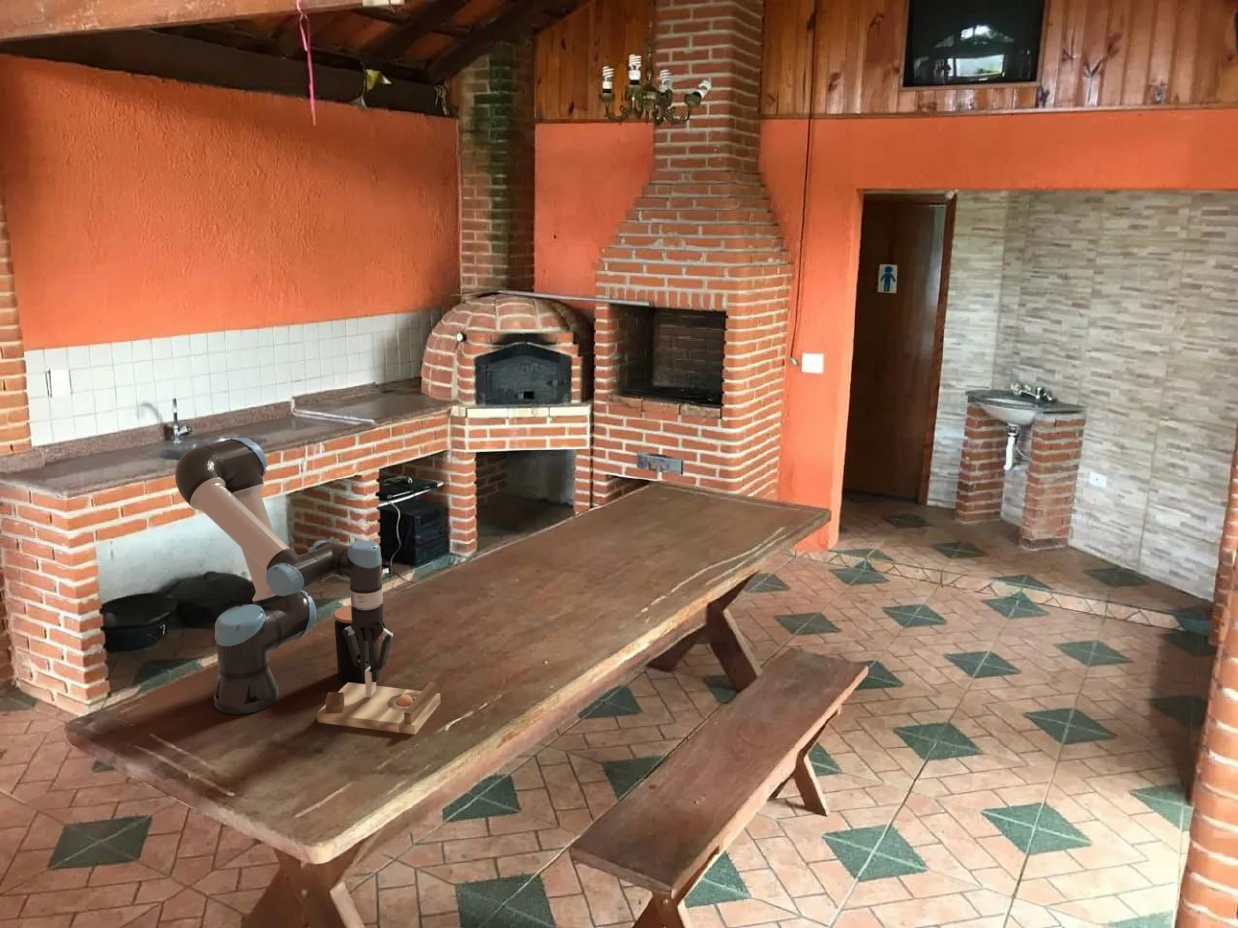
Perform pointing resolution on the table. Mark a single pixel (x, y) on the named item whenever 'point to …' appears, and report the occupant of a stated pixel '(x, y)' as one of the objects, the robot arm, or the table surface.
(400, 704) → the ball
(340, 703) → the walnut cube
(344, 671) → the coffee jar
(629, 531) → the table surface
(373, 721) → the board
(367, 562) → the robot arm
